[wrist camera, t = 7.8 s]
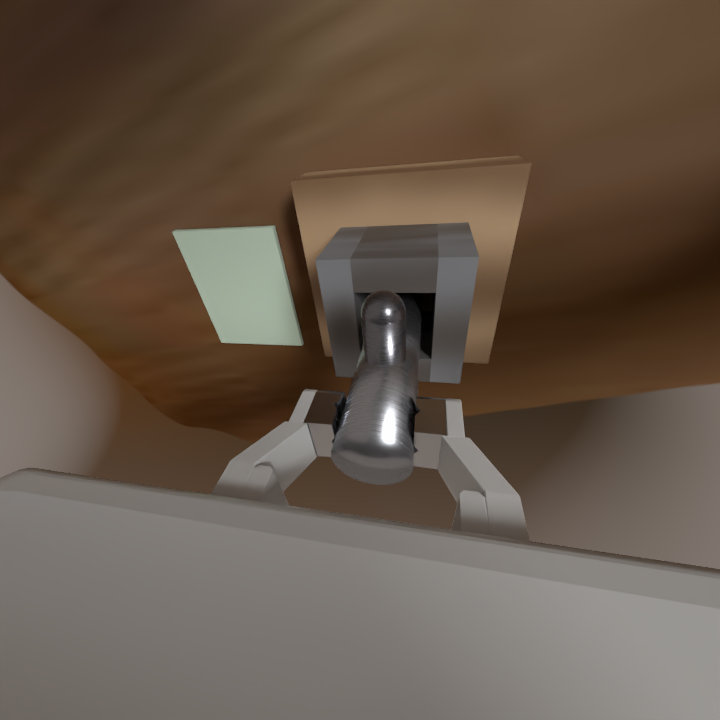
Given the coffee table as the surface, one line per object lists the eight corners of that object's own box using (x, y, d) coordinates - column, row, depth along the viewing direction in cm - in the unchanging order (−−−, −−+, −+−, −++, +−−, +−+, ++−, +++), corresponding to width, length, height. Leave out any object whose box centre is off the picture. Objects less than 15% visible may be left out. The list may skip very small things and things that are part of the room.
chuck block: (307, 172, 19) (247, 202, 13) (518, 155, 17) (567, 182, 10) (337, 353, 28) (310, 422, 21) (479, 359, 25) (493, 439, 19)
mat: (175, 229, 23) (171, 231, 23) (274, 225, 21) (272, 227, 21) (223, 340, 29) (221, 342, 29) (303, 343, 28) (302, 345, 27)
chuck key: (372, 234, 16) (308, 365, 8) (425, 232, 15) (416, 370, 7) (379, 353, 20) (345, 513, 12) (420, 355, 20) (411, 523, 12)
